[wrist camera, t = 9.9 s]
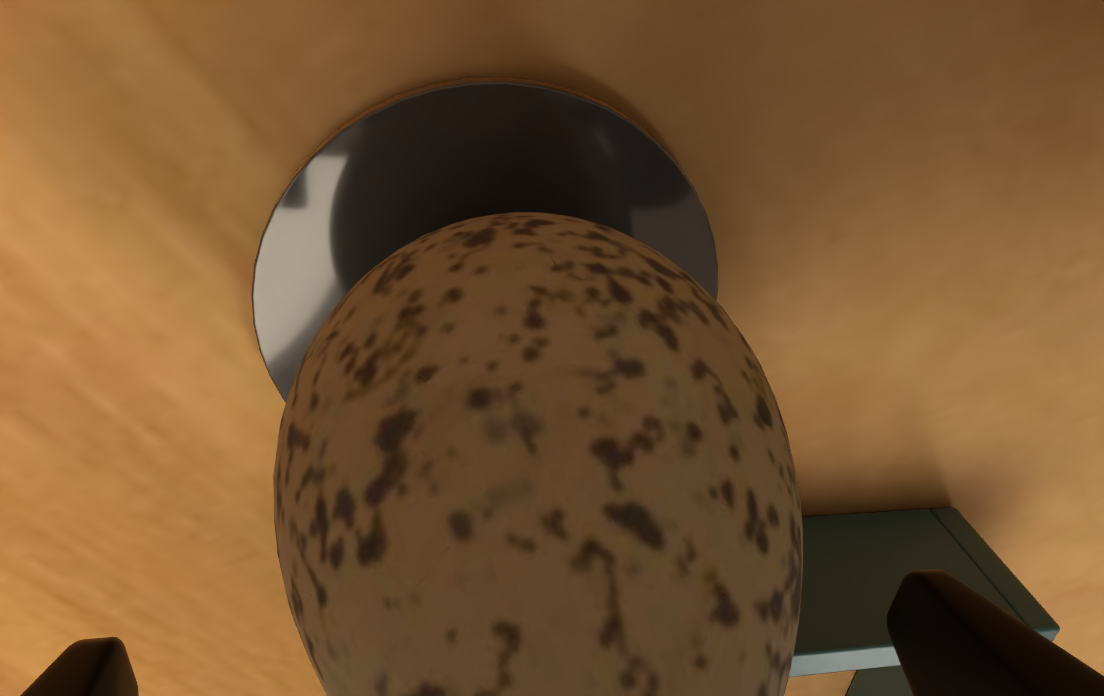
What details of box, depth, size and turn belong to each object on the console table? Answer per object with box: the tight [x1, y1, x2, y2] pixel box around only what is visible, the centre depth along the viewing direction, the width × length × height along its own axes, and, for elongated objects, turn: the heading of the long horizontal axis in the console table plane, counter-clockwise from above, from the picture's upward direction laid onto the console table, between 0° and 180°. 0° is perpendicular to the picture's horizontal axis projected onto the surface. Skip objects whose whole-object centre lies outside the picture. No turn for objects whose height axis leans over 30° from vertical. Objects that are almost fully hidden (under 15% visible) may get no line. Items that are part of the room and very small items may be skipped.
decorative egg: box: [273, 212, 803, 696], centre depth 10 cm, size 7×7×10 cm
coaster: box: [252, 77, 718, 402], centre depth 15 cm, size 9×9×1 cm
